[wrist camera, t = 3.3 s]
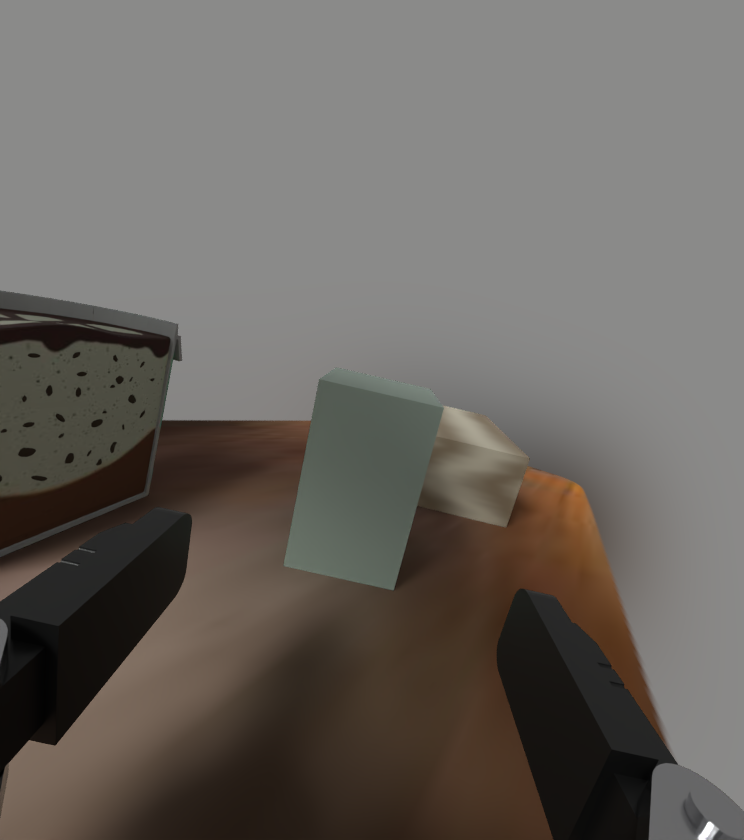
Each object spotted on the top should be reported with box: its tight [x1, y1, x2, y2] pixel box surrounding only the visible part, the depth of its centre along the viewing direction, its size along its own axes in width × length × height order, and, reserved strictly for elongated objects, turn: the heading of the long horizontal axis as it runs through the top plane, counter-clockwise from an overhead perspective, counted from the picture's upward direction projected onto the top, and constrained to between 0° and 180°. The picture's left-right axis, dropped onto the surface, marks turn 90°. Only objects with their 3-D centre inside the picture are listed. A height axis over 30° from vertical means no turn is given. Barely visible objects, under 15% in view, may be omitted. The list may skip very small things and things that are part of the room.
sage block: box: [284, 368, 444, 591], centre depth 20 cm, size 6×6×10 cm
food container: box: [0, 291, 182, 557], centre depth 17 cm, size 12×6×10 cm, turn 163°
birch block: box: [417, 405, 530, 527], centre depth 35 cm, size 14×15×6 cm
